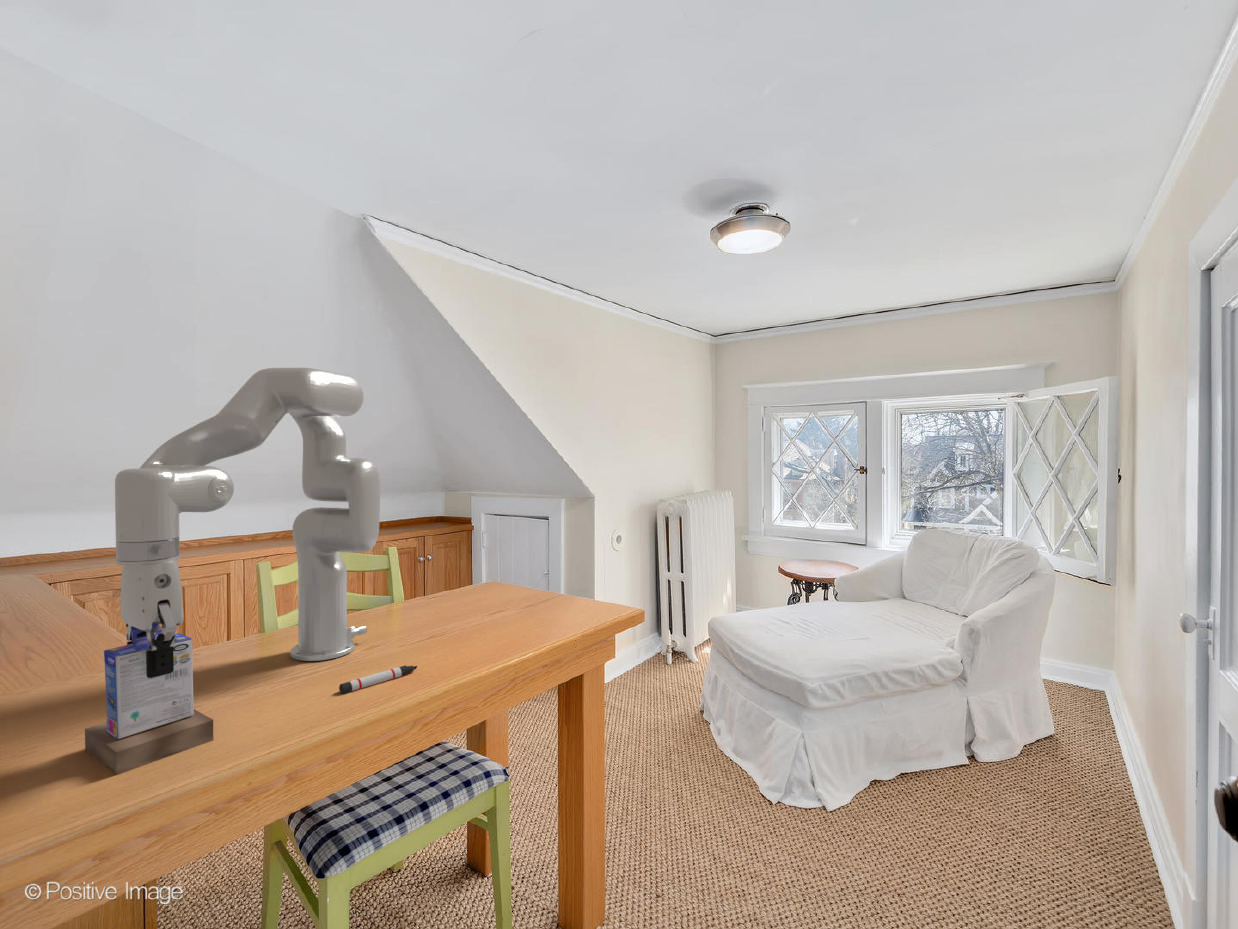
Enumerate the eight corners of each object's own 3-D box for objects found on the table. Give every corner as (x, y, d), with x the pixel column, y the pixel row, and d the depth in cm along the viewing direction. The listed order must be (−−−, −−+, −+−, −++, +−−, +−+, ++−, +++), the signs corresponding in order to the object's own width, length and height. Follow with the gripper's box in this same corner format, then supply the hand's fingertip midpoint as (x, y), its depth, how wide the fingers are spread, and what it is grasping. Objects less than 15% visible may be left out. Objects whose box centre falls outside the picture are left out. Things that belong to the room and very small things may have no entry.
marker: (344, 696, 111) (344, 685, 111) (339, 693, 112) (339, 682, 112) (419, 673, 122) (419, 663, 122) (414, 670, 124) (414, 661, 124)
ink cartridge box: (180, 707, 97) (179, 617, 97) (196, 715, 94) (195, 623, 94) (103, 731, 89) (101, 633, 89) (117, 741, 86) (116, 640, 86)
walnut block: (178, 725, 100) (178, 700, 100) (213, 745, 93) (213, 719, 93) (85, 755, 90) (84, 728, 90) (116, 781, 83) (116, 752, 83)
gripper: (203, 553, 89) (205, 674, 90) (154, 542, 99) (155, 652, 99) (142, 561, 83) (144, 691, 83) (95, 548, 92) (97, 665, 93)
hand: (150, 669), depth 91 cm, fingers open, 6 cm apart
